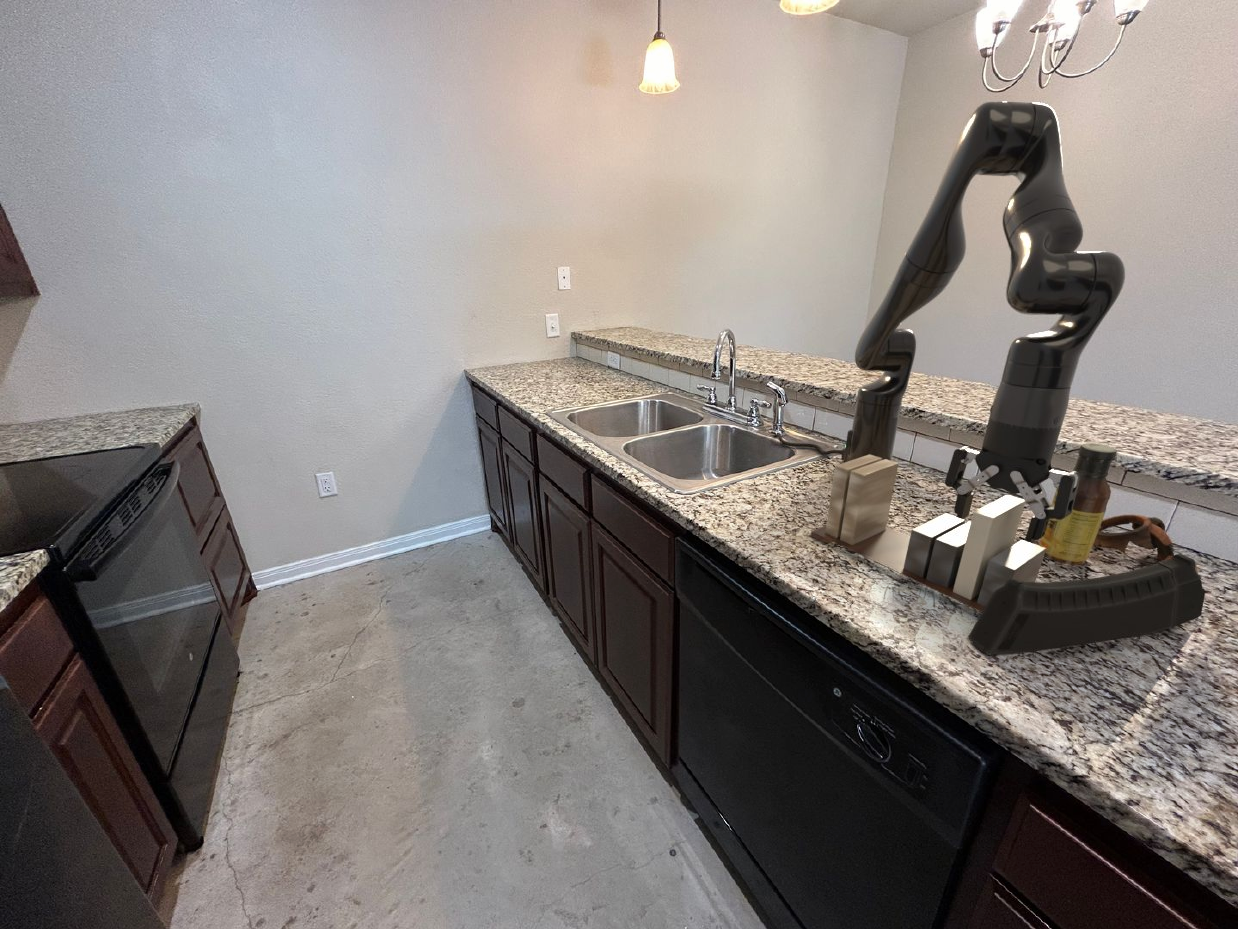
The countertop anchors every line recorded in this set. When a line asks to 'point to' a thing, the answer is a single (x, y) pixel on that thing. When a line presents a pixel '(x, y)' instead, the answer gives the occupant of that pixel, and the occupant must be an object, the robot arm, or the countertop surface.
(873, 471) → the book board
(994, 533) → the cream book
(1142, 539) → the rusty ring bracket
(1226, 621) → the countertop surface
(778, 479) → the countertop surface
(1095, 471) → the sauce bottle
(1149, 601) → the magazine
